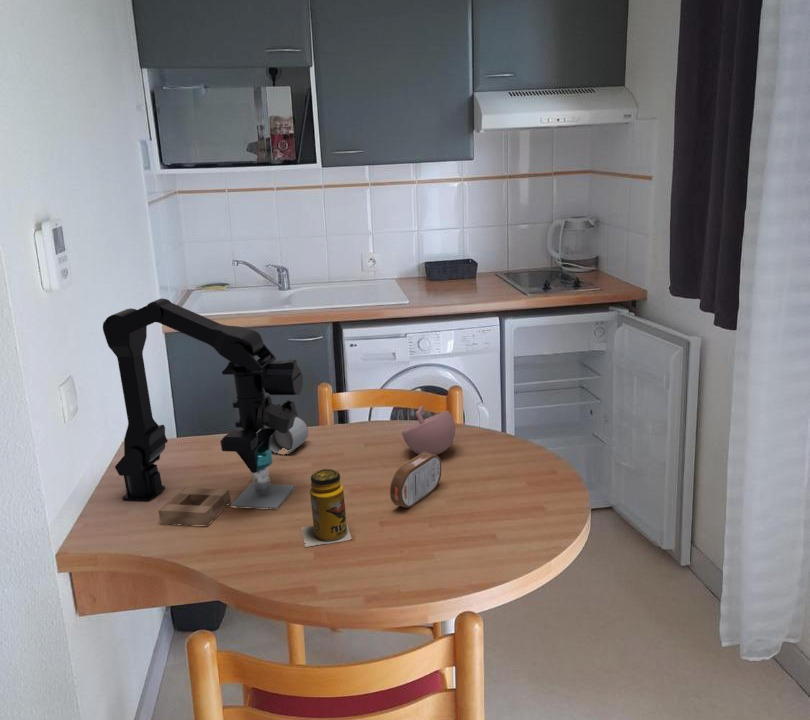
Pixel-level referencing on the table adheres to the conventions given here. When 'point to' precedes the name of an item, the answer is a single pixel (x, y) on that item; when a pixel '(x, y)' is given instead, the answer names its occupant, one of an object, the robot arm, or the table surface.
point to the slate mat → (264, 497)
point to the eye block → (194, 506)
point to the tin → (415, 479)
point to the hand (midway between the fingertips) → (259, 467)
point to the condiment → (326, 510)
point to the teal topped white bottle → (262, 471)
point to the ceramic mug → (290, 437)
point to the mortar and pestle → (430, 433)
